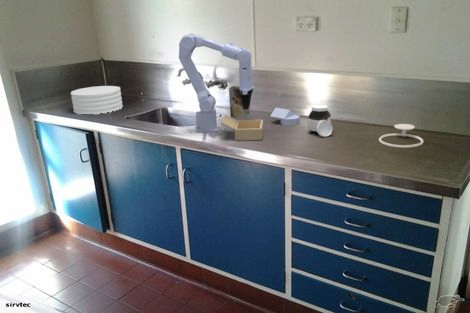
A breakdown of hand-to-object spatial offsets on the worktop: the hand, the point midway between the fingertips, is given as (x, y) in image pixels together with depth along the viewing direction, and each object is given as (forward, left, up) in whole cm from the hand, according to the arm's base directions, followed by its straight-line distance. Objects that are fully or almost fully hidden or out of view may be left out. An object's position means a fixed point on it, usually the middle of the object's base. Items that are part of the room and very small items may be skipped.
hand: (246, 107), depth 199 cm
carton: (+2, -10, -10) cm, 15 cm away
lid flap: (-7, -10, -4) cm, 13 cm away
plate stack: (-93, +50, -11) cm, 106 cm away
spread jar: (+33, -9, -11) cm, 36 cm away
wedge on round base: (+18, +10, -11) cm, 23 cm away
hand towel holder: (+64, -20, -11) cm, 68 cm away
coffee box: (-5, +20, -11) cm, 23 cm away
